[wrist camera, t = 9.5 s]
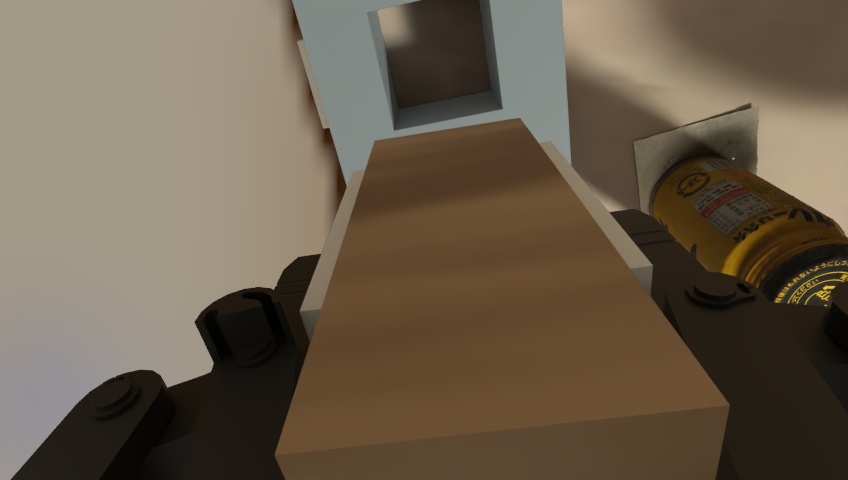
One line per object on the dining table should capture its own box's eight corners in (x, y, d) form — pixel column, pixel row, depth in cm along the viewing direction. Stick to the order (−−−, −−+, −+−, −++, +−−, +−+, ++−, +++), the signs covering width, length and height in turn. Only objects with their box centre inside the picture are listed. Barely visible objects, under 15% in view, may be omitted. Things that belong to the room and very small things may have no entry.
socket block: (294, -32, 26) (267, -36, 21) (531, -88, 24) (555, -105, 20) (389, 301, 36) (384, 346, 31) (560, 273, 34) (580, 315, 30)
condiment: (645, 253, 34) (746, 375, 23) (632, 140, 30) (745, 225, 19) (754, 225, 33) (912, 339, 22) (754, 105, 29) (945, 173, 18)
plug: (374, 140, 13) (274, 455, 4) (520, 117, 13) (729, 403, 4) (400, 263, 15) (367, 659, 6) (528, 246, 15) (684, 636, 6)
